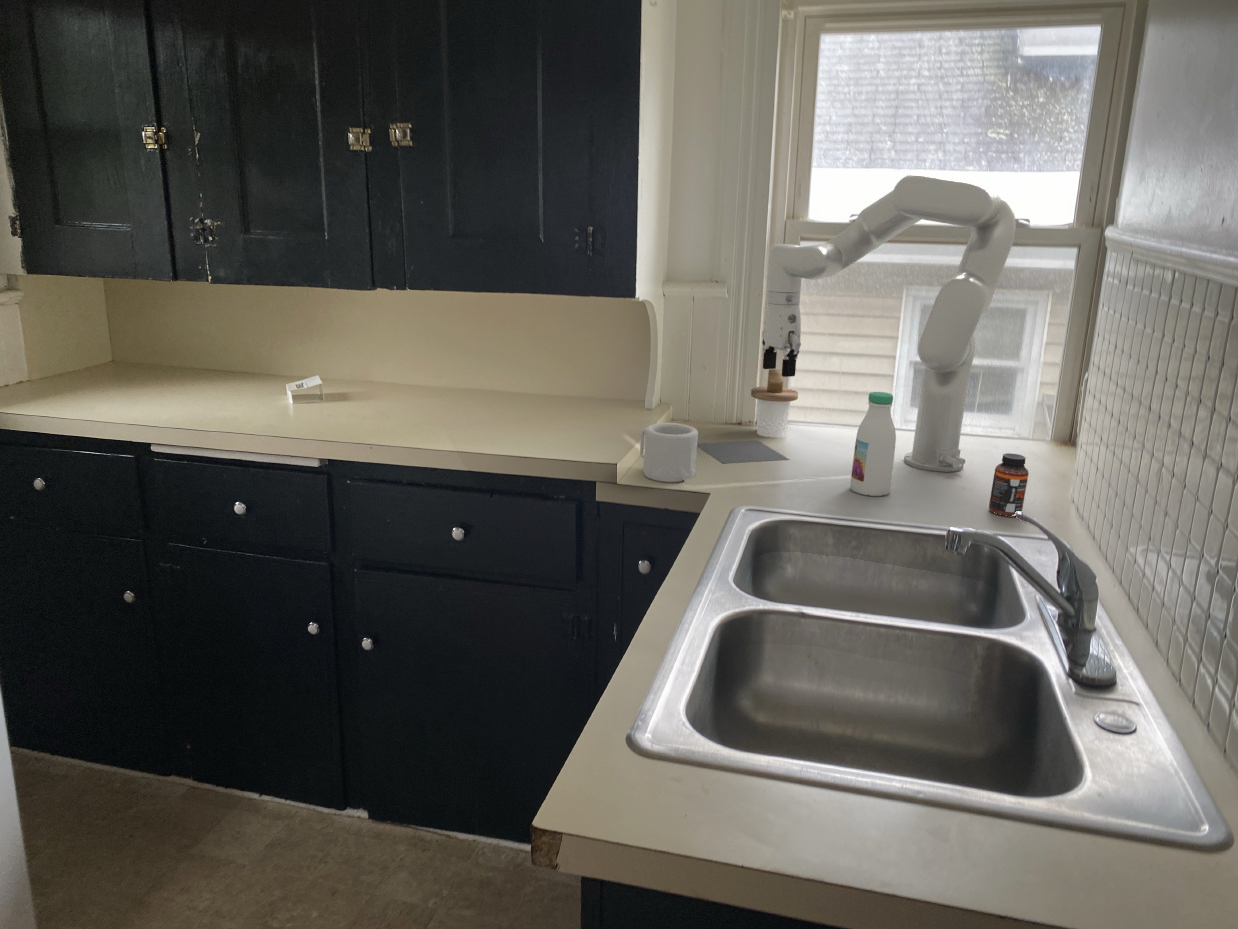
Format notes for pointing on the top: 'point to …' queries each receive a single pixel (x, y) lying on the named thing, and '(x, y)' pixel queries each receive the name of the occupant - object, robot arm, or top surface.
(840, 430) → the top surface
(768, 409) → the white cup
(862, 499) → the top surface
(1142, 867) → the top surface
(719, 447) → the mat
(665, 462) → the mug
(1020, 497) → the supplement bottle
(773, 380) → the wooden lid
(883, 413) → the milk bottle
